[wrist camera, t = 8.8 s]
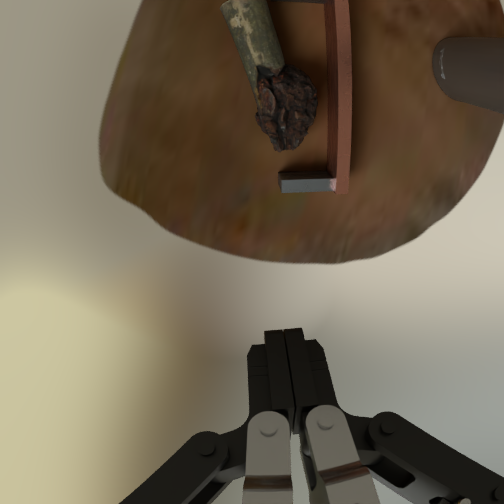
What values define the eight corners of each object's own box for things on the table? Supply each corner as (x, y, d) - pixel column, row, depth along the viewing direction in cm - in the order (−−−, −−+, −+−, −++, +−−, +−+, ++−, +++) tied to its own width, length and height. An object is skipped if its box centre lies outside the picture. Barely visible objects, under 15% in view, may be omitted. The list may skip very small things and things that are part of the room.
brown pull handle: (335, -6, 24) (346, -15, 21) (337, 182, 37) (347, 193, 33) (269, -10, 24) (273, -20, 21) (278, 184, 37) (282, 196, 33)
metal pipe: (220, 11, 25) (217, -2, 21) (279, -3, 25) (287, -17, 20) (265, 149, 34) (270, 161, 30) (320, 135, 34) (334, 145, 29)
